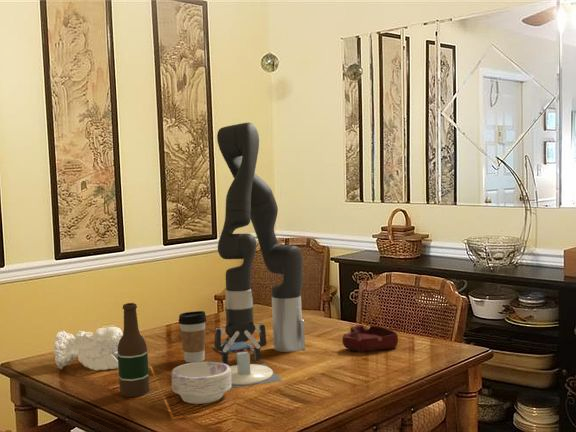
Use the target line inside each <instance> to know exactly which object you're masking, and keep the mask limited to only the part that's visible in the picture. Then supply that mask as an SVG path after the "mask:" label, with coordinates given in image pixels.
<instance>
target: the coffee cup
mask: <svg viewBox="0 0 576 432" xmlns="http://www.w3.org/2000/svg"><path fill="white" fill-rule="evenodd" d="M206 322H207V316H206V312H205V310H204V311H202V310H201V311H200V310H199V311H198V310H197V311H196V310H195V311H188V312H186V311H185V312H183V313H180V314H179V317H178V324H179V327H180V330H179V331H180V339H181V344H182V351H183V358H184V359H183V360H184V361H185V362H186V363H193V362H204V360H205V353H206V351H205V350H206V349H205V348H206V334H207V333H206V332H207V331H206V330H207V327H206Z"/></svg>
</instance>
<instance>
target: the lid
mask: <svg viewBox="0 0 576 432" xmlns="http://www.w3.org/2000/svg"><path fill="white" fill-rule="evenodd" d="M229 366H230V368H231V379H232V380H231V381H232V383H231V385H249V384H256V383H260V382H263V381H266V380H268V379H270V378H271V377H272V376H273V372H274V371H273V369H272V368H270V367H269V366H268V367H266V366H262V365H259V364H254V363H251V354H250V353H249V351H247V352H240V353H236V365H229ZM256 385H257V384H256ZM249 386H250V385H249Z"/></svg>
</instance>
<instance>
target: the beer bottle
mask: <svg viewBox="0 0 576 432" xmlns="http://www.w3.org/2000/svg"><path fill="white" fill-rule="evenodd" d="M137 308H138V306H137V303H134V302H129V303H128V302H127V303H124V304H122V309H123V331H122V333H123V335H122V337H121V339H120V340H119V344H118V359H117V360H118V368H117V369H118V382H119V383H118V384H119V392H120V394H121V396H122V397H124V398H125V397H126V398H136V397H142V396H144V395H146V394H147V393H149V392H150V374H149V360H148V359H149V357H148V347H147V342H146V340H145V338H144V337H143V336H142V334H141V333H140V329H139V323H138V314H137Z"/></svg>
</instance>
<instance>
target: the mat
mask: <svg viewBox="0 0 576 432" xmlns="http://www.w3.org/2000/svg"><path fill="white" fill-rule="evenodd" d="M258 365H262V366H266V367H269V366H268V364H266V363H260V364H259V363H258ZM282 381H283V380H282V379H281V377H279V376H278V374H276V373H275V372H274V371H273V376H272V377H271V378H270V379H268V380H266V381H263V382H260V383H256V384H249V385H231V388H230V389H234V388H238V387H239V388H240V387H247V386H254V385H261V384H262V385H263V384H268V383H275V382H282Z"/></svg>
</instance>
